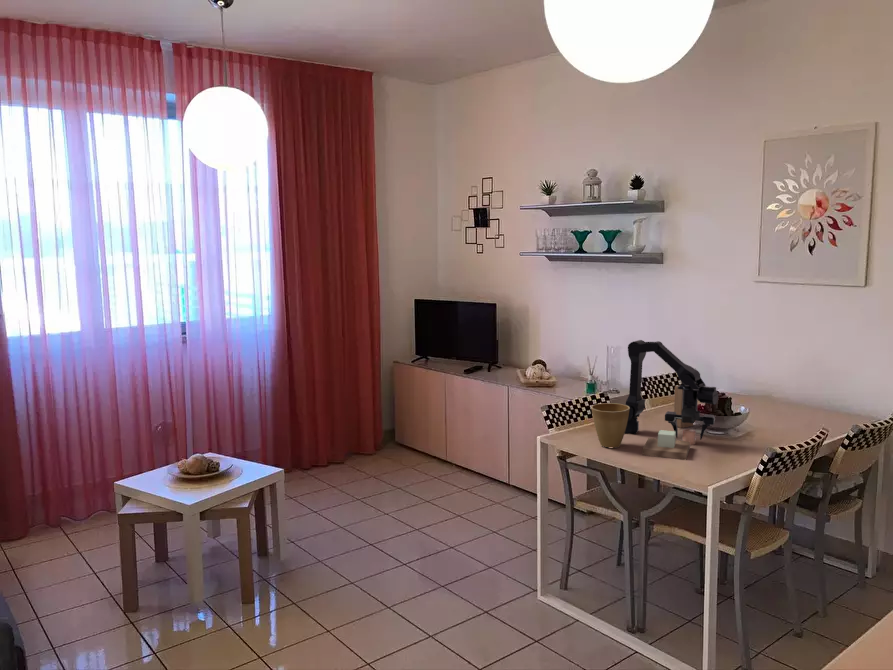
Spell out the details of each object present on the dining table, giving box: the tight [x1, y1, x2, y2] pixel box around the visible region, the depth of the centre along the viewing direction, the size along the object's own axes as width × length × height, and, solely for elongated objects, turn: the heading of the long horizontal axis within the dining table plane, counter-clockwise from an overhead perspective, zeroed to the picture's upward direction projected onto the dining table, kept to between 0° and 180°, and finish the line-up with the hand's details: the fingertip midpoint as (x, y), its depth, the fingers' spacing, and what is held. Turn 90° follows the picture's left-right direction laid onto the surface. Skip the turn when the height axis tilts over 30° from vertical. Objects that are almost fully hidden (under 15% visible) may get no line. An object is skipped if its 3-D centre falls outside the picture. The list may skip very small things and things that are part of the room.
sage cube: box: [657, 429, 677, 448], centre depth 282 cm, size 6×6×5 cm
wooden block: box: [673, 385, 694, 429], centre depth 318 cm, size 9×4×18 cm, turn 119°
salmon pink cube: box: [681, 428, 697, 446], centre depth 294 cm, size 5×5×5 cm
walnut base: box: [642, 437, 691, 460], centre depth 283 cm, size 16×16×2 cm
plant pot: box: [590, 402, 630, 449], centre depth 291 cm, size 15×15×16 cm
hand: (688, 438), depth 294 cm, fingers open, 9 cm apart
